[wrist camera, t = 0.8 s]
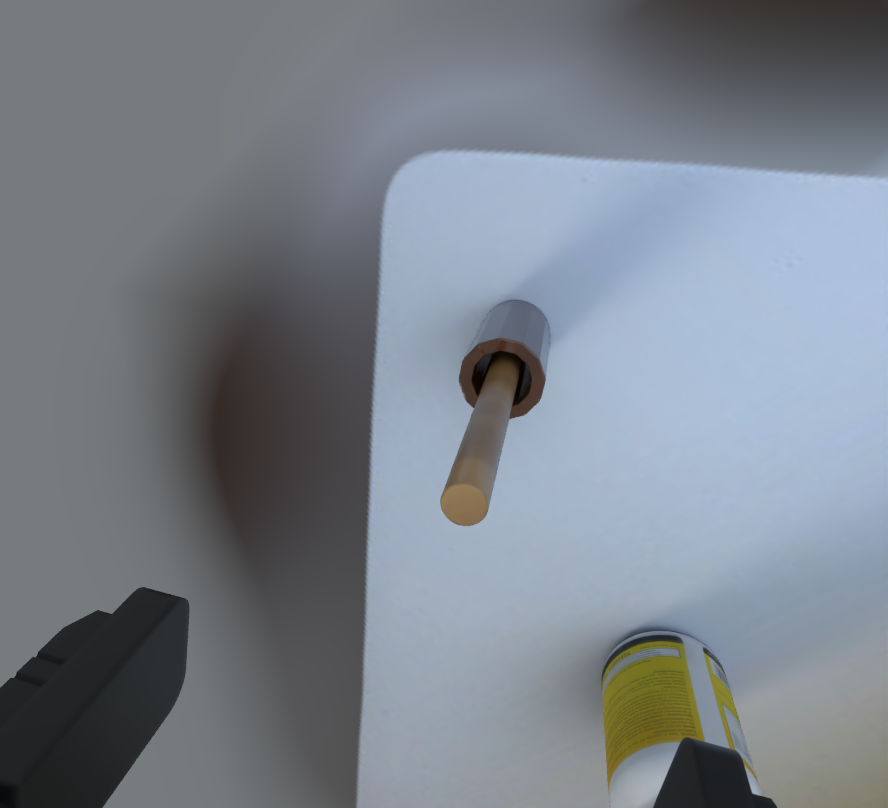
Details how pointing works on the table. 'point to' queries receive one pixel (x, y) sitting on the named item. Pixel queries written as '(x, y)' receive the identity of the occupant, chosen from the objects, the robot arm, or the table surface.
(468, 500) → the stick
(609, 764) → the pill bottle
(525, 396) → the holder
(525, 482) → the table surface
